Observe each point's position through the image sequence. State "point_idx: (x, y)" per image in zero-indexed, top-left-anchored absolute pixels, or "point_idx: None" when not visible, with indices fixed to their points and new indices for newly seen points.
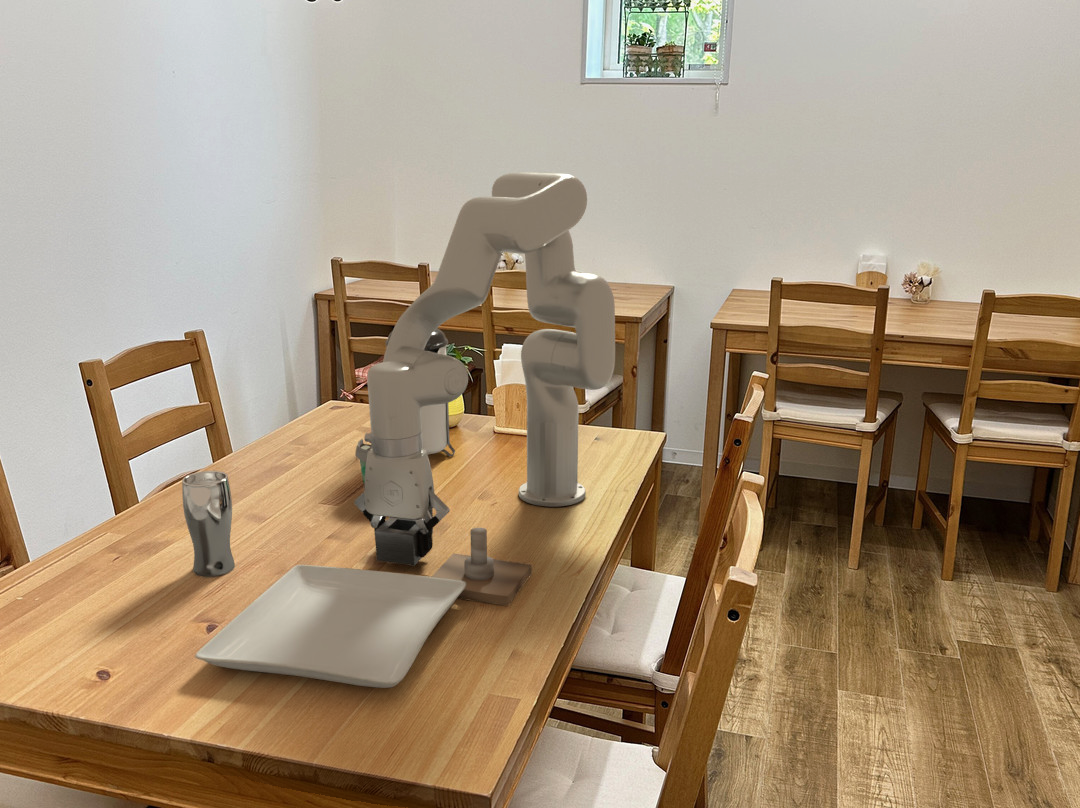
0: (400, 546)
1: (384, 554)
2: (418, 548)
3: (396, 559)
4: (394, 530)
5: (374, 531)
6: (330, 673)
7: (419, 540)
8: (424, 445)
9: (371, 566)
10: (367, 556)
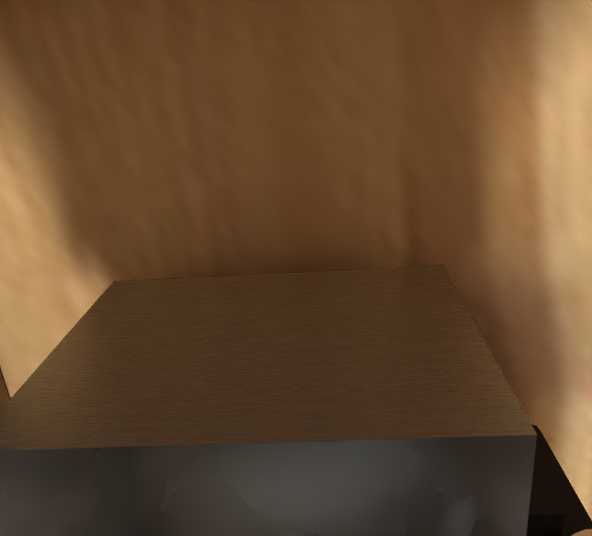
0: (189, 353)
1: (373, 295)
2: None
3: (261, 287)
4: (277, 512)
5: (585, 510)
6: None
7: None
8: None
9: (489, 260)
10: (581, 377)
